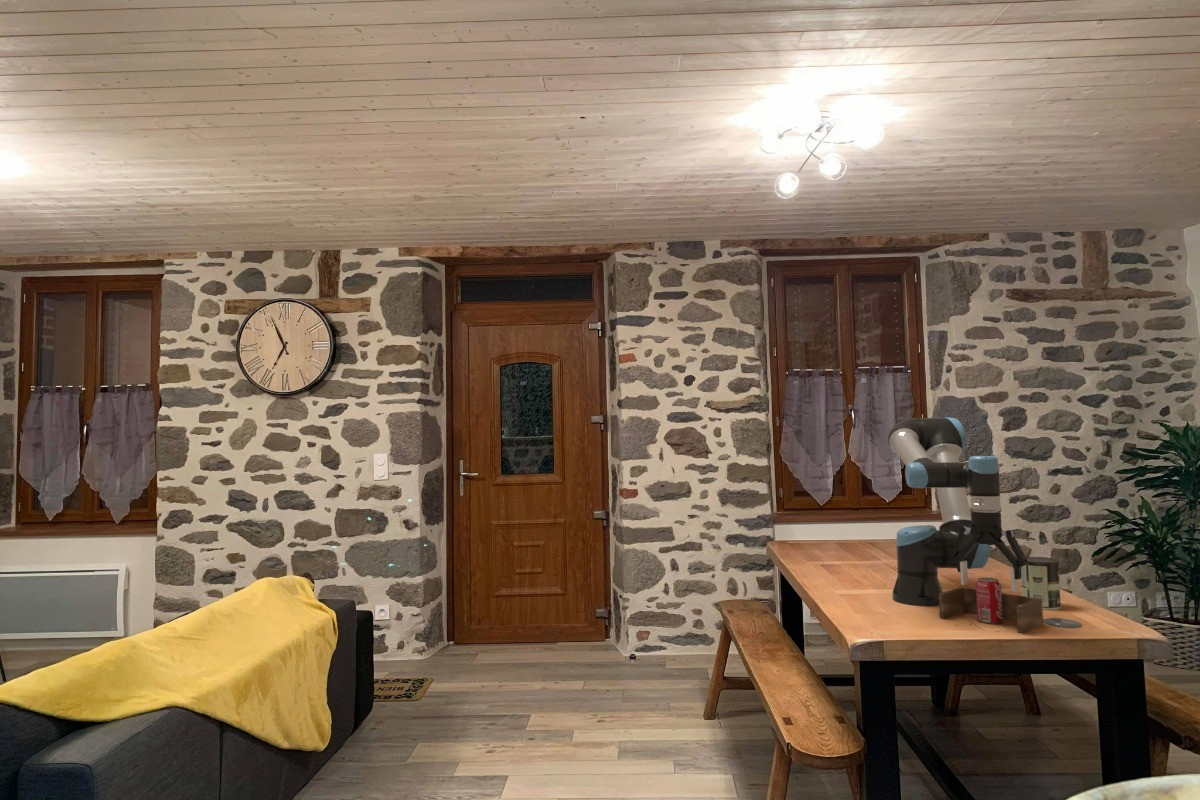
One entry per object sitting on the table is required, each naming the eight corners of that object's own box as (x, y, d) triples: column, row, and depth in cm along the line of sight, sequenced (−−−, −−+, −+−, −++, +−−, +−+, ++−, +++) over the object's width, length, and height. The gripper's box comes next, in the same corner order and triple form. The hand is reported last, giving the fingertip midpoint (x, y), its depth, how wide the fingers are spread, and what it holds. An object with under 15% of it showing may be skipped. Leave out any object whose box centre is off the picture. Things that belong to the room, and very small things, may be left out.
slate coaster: (1037, 624, 204) (1037, 622, 204) (1050, 618, 209) (1050, 616, 209) (1074, 630, 197) (1074, 628, 197) (1087, 624, 202) (1086, 622, 202)
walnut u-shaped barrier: (939, 619, 211) (938, 593, 211) (962, 611, 219) (961, 586, 220) (1022, 634, 194) (1021, 607, 194) (1043, 625, 202) (1042, 598, 203)
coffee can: (1053, 603, 228) (1051, 556, 228) (1067, 611, 217) (1064, 562, 218) (1016, 602, 230) (1014, 556, 230) (1028, 610, 220) (1026, 562, 220)
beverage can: (1000, 620, 208) (998, 577, 209) (1004, 626, 202) (1002, 581, 203) (975, 619, 210) (974, 576, 211) (979, 624, 204) (977, 580, 205)
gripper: (935, 509, 215) (938, 583, 214) (1028, 514, 196) (1031, 596, 194) (947, 507, 220) (950, 579, 218) (1039, 512, 200) (1043, 592, 199)
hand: (989, 587), depth 206 cm, fingers open, 13 cm apart
